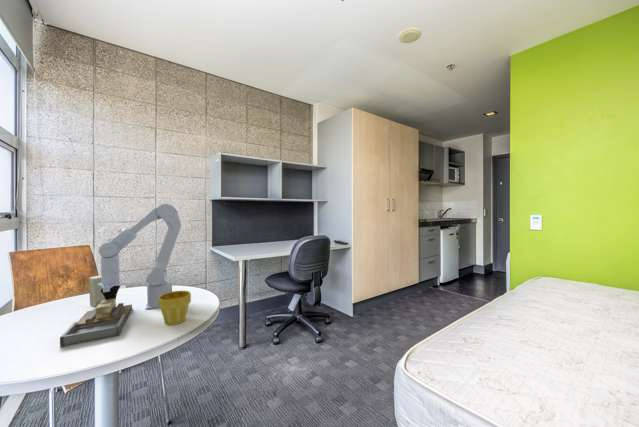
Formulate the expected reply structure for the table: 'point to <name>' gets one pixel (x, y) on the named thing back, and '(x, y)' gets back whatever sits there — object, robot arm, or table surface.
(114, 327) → the tray
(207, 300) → the table surface
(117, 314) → the slot bed
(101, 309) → the beige cube
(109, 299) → the light wooden cube
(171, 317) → the plant pot
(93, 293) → the skincare box
